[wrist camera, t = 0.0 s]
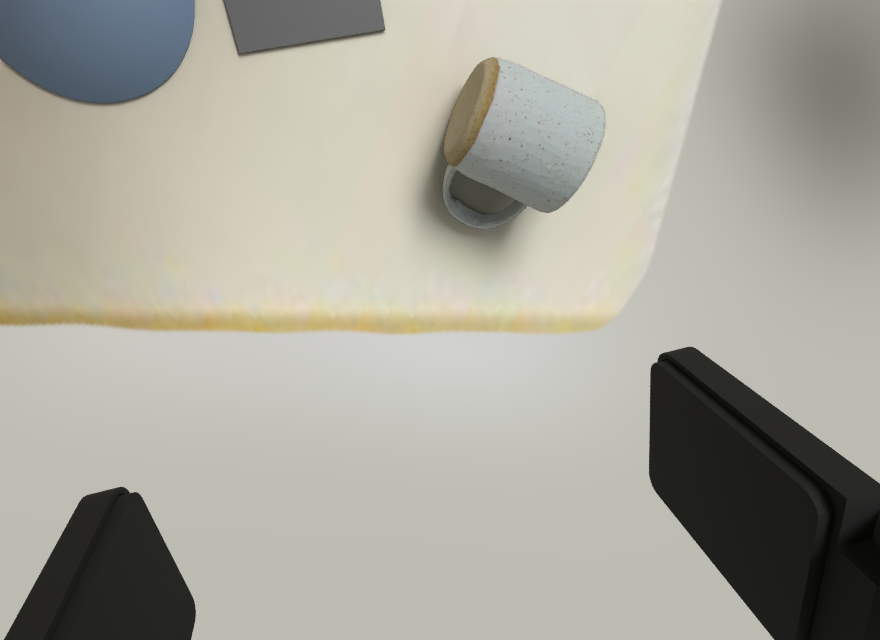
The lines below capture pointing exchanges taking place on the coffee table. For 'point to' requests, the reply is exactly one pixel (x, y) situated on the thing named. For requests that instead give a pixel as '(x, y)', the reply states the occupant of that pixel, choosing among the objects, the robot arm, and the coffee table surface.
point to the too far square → (299, 21)
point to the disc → (96, 44)
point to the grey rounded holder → (520, 140)
